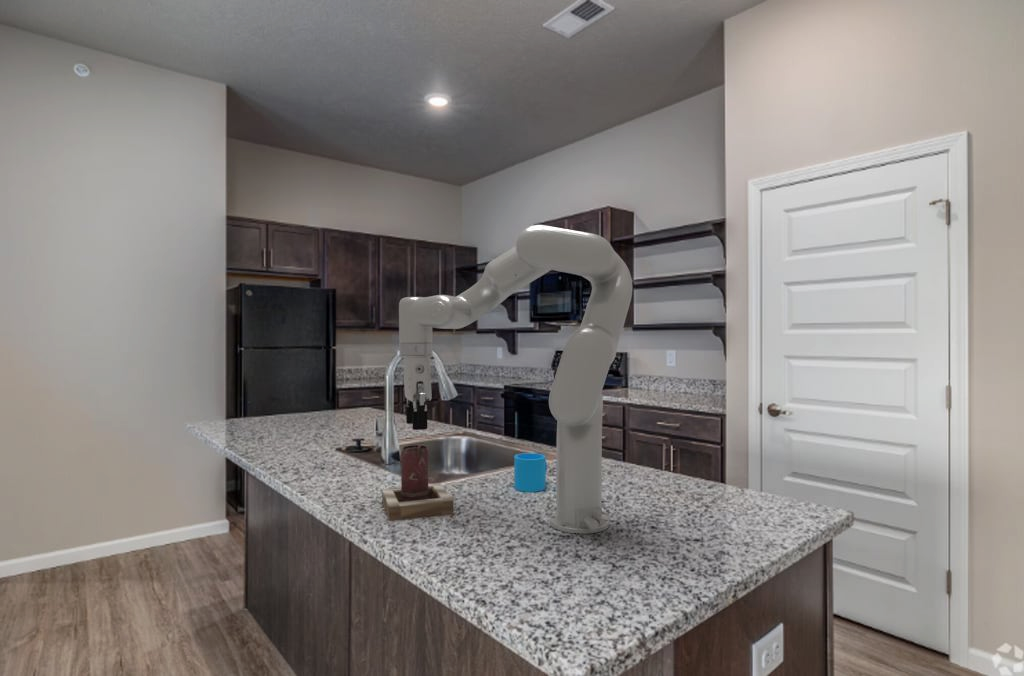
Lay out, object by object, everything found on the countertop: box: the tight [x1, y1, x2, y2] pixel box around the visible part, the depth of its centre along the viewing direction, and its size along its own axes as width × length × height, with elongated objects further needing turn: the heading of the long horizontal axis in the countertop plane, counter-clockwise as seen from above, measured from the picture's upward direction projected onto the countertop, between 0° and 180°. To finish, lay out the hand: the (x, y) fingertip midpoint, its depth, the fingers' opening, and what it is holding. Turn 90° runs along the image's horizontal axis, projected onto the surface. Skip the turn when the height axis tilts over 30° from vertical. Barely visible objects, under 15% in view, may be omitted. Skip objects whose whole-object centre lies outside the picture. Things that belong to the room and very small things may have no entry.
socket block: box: [381, 483, 454, 522], centre depth 126 cm, size 14×14×3 cm
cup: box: [400, 444, 429, 502], centre depth 127 cm, size 6×6×14 cm
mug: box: [513, 452, 548, 493], centre depth 145 cm, size 12×8×8 cm
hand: (416, 426), depth 126 cm, fingers open, 8 cm apart
